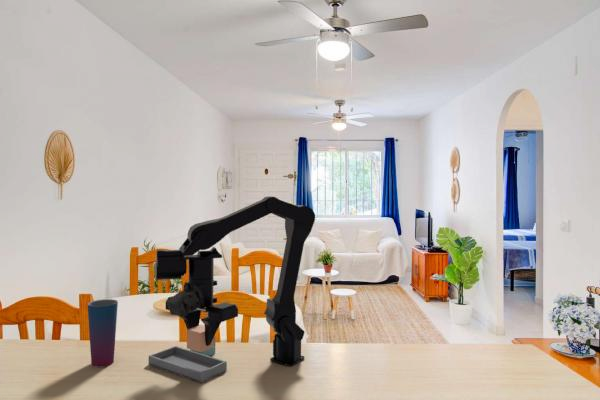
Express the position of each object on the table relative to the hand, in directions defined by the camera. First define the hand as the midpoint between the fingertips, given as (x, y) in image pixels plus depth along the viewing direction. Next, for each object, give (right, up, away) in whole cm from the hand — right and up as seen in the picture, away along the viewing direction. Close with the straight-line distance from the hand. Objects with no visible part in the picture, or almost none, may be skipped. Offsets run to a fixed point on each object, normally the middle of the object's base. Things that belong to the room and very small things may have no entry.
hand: (200, 343), depth 104 cm
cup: (-25, -7, +5) cm, 27 cm away
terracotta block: (0, -1, 0) cm, 1 cm away
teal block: (-2, -7, +12) cm, 14 cm away
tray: (-4, -7, +3) cm, 8 cm away
